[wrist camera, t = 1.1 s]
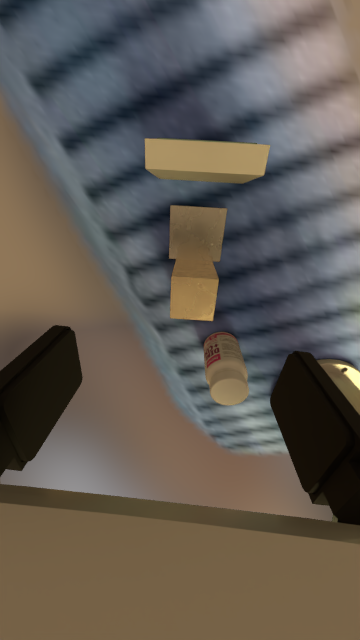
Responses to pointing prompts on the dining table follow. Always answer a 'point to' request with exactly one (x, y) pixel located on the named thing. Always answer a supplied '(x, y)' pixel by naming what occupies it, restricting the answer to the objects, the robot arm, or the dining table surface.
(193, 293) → the beige boxy piece
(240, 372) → the pill bottle
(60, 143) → the dining table surface
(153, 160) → the block
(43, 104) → the dining table surface
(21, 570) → the robot arm
